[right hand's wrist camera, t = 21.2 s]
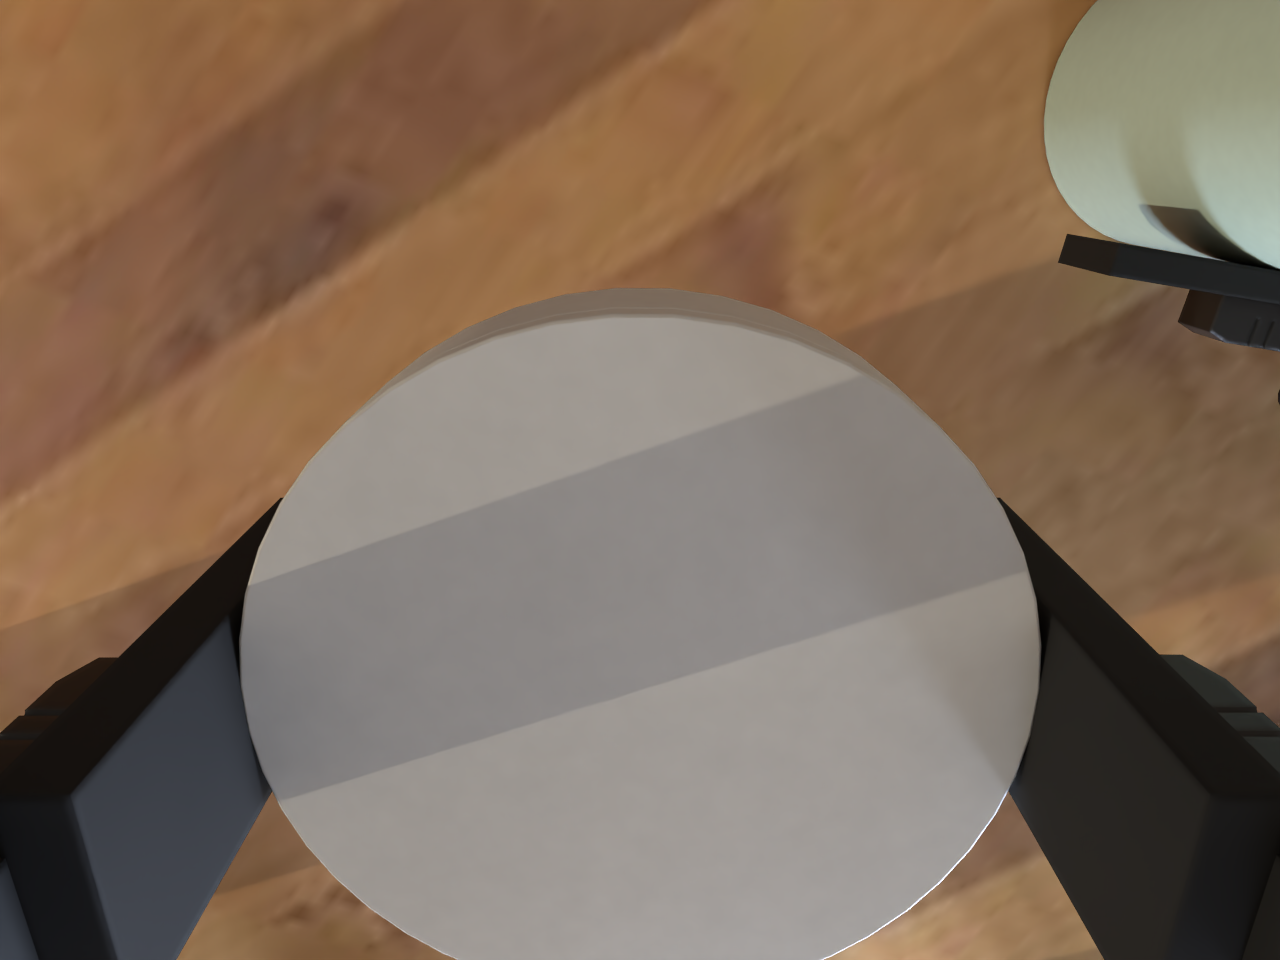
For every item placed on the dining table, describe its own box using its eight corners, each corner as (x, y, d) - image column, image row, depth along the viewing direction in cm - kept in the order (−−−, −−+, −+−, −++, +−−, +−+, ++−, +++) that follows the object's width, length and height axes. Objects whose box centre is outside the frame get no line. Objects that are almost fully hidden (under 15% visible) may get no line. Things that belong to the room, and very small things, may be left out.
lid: (1071, 765, 13) (1134, 855, 11) (504, 972, 14) (488, 1078, 13) (837, 143, 10) (876, 142, 8) (148, 486, 11) (64, 543, 10)
